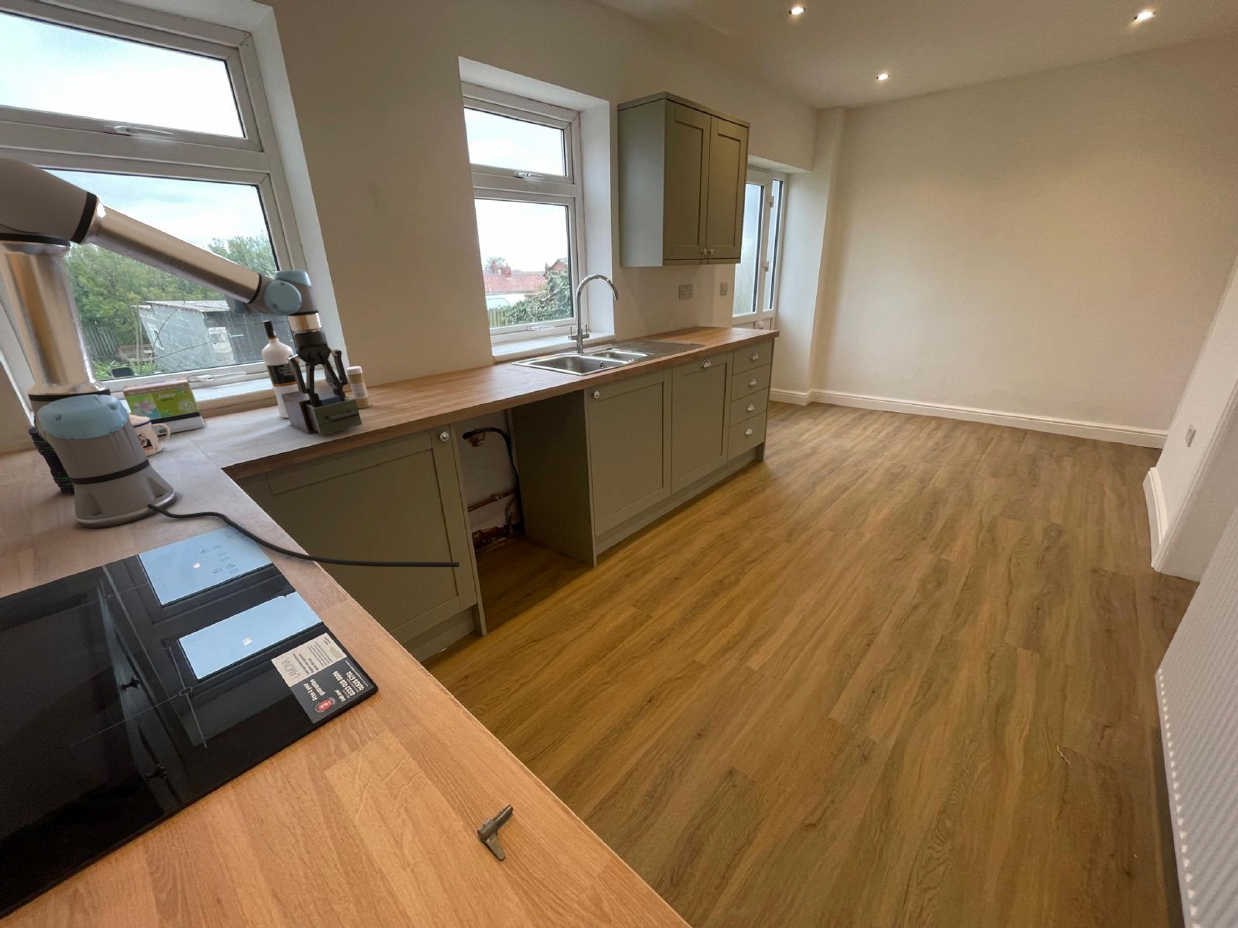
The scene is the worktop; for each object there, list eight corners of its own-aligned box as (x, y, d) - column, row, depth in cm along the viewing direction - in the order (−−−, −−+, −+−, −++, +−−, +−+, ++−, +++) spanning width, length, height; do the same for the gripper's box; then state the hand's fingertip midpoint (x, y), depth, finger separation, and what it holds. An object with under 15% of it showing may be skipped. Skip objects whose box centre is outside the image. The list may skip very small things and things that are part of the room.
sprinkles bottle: (372, 404, 172) (362, 365, 166) (369, 408, 168) (359, 368, 162) (358, 405, 171) (347, 366, 166) (354, 409, 167) (344, 369, 162)
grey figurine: (339, 400, 178) (330, 367, 173) (323, 401, 178) (314, 368, 174) (348, 396, 184) (339, 363, 179) (332, 396, 184) (323, 364, 179)
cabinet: (352, 422, 154) (344, 391, 150) (308, 433, 145) (298, 401, 142) (333, 414, 163) (325, 385, 159) (290, 424, 154) (281, 394, 150)
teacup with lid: (116, 463, 130) (95, 420, 125) (123, 453, 137) (104, 412, 132) (174, 451, 136) (157, 410, 131) (178, 442, 143) (162, 403, 138)
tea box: (142, 440, 147) (120, 391, 141) (143, 432, 154) (122, 385, 148) (206, 427, 156) (187, 380, 150) (203, 420, 163) (186, 375, 157)
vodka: (295, 410, 169) (266, 318, 158) (319, 410, 168) (292, 318, 156) (273, 418, 161) (241, 323, 149) (298, 419, 159) (267, 322, 147)
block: (344, 412, 146) (339, 395, 144) (326, 417, 142) (321, 400, 140) (337, 409, 149) (332, 393, 147) (319, 414, 145) (314, 397, 143)
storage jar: (74, 481, 120) (43, 422, 114) (126, 473, 123) (98, 415, 117) (51, 498, 111) (15, 435, 105) (107, 489, 115) (76, 427, 109)
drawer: (369, 427, 145) (363, 401, 142) (328, 439, 137) (320, 412, 134) (343, 417, 156) (336, 392, 153) (303, 427, 148) (295, 401, 145)
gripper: (336, 325, 144) (357, 403, 154) (265, 334, 132) (293, 418, 141) (347, 326, 140) (368, 406, 149) (275, 337, 128) (302, 423, 137)
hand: (331, 412), depth 145 cm, fingers closed on block, 5 cm apart
